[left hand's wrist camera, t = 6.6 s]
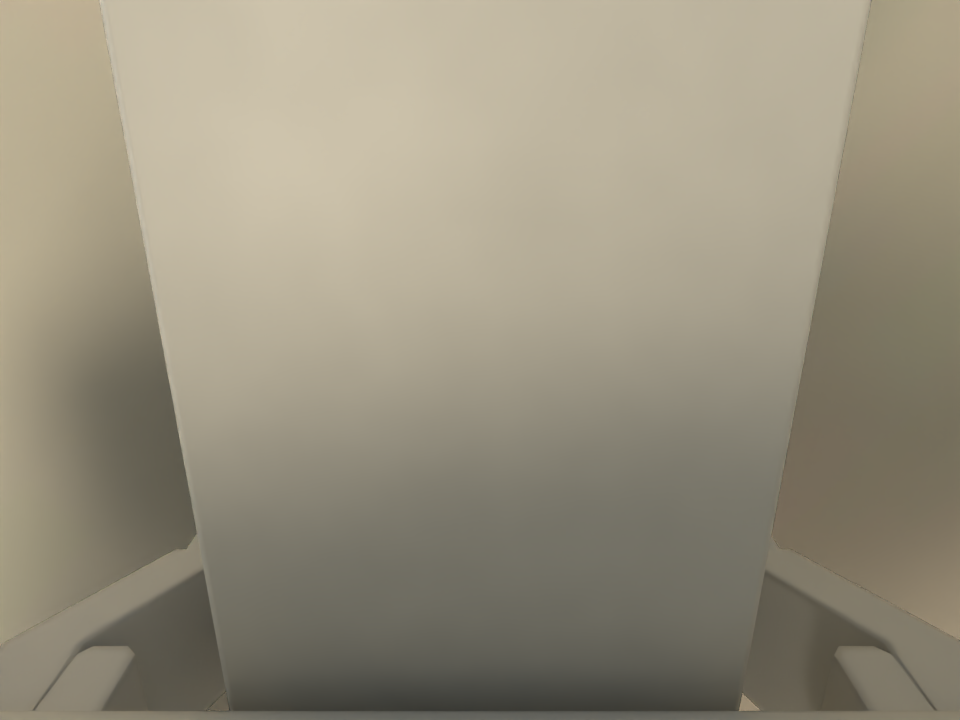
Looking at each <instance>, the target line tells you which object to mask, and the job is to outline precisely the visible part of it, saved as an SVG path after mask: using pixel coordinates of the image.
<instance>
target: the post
mask: <svg viewBox="0 0 960 720" xmlns="http://www.w3.org/2000/svg"><path fill="white" fill-rule="evenodd" d="M871 1H872V0H99V3H100V9H101V14H102V20H103V25H104V30H105V36H106V41H107V47H108V52H109V58H110V63H111V68H112V74H113V79H114V85H115V90H116V96H117V101H118V107H119V112H120V117H121V123H122V128H123V134H124V139H125V145H126V150H127V155H128V161H129V166H130V172H131V177H132V183H133V188H134V194H135V199H136V204H137V210H138V215H139V221H140V226H141V232H142V237H143V242H144V248H145V253H146V259H147V264H148V270H149V275H150V281H151V286H152V291H153V297H154V302H155V308H156V313H157V319H158V324H159V329H160V335H161V340H162V346H163V351H164V357H165V362H166V368H167V373H168V378H169V384H170V389H171V395H172V400H173V406H174V411H175V416H176V422H177V427H178V433H179V438H180V444H181V449H182V455H183V460H184V465H185V471H186V476H187V482H188V487H189V493H190V498H191V503H192V509H193V514H194V520H195V525H196V531H197V536H198V542H199V547H200V552H201V558H202V563H203V569H204V574H205V580H206V585H207V590H208V596H209V601H210V607H211V612H212V618H213V623H214V629H215V634H216V639H217V645H218V650H219V656H220V661H221V667H222V672H223V677H224V683H225V688H226V694H227V699H228V705H229V710H230V711H739V707H740V702H741V696H742V691H743V686H744V680H745V675H746V669H747V664H748V659H749V653H750V648H751V643H752V637H753V632H754V627H755V621H756V616H757V611H758V605H759V600H760V595H761V589H762V584H763V579H764V573H765V568H766V562H767V557H768V552H769V546H770V541H771V536H772V530H773V525H774V520H775V514H776V509H777V504H778V498H779V493H780V488H781V482H782V477H783V472H784V466H785V461H786V456H787V450H788V445H789V439H790V434H791V429H792V423H793V418H794V413H795V407H796V402H797V397H798V391H799V386H800V381H801V375H802V370H803V365H804V359H805V354H806V349H807V343H808V338H809V332H810V327H811V322H812V316H813V311H814V306H815V300H816V295H817V290H818V284H819V279H820V274H821V268H822V263H823V258H824V252H825V247H826V242H827V236H828V231H829V225H830V220H831V215H832V209H833V204H834V199H835V193H836V188H837V183H838V177H839V172H840V167H841V161H842V156H843V151H844V145H845V140H846V135H847V129H848V124H849V118H850V113H851V108H852V102H853V97H854V92H855V86H856V81H857V76H858V70H859V65H860V60H861V54H862V49H863V44H864V38H865V33H866V28H867V22H868V17H869V12H870V6H871Z"/></svg>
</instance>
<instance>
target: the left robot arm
mask: <svg viewBox="0 0 960 720" xmlns="http://www.w3.org/2000/svg"><path fill="white" fill-rule="evenodd" d="M225 692H226V688H225V683H224V677H223V672H222V667H221V661H220V656H219V650H218V645H217V639H216V634H215V629H214V623H213V618H212V612H211V607H210V601H209V596H208V590H207V585H206V580H205V574H204V569H203V563H202V558H201V552H200V547H199V542H198V536H197V534H196V535H195V537H194V538H193V540H192V541H191V543H190V544H189V546H188V547H187V549H175V550H173V551H171V552H170V553H168V554H166V555H164V556H162V557H160V558H159V559H157V560H155V561H153V562H151V563H149V564H147V565H146V566H144V567H142V568H140V569H138V570H136V571H135V572H133V573H131V574H129V575H127V576H125V577H124V578H122V579H120V580H118V581H116V582H114V583H113V584H111V585H109V586H107V587H105V588H103V589H101V590H100V591H98V592H96V593H94V594H92V595H90V596H89V597H87V598H85V599H83V600H81V601H79V602H78V603H76V604H74V605H72V606H70V607H68V608H66V609H65V610H63V611H61V612H59V613H57V614H55V615H54V616H52V617H50V618H48V619H46V620H44V621H43V622H41V623H39V624H37V625H35V626H33V627H32V628H30V629H28V630H26V631H24V632H22V633H20V634H19V635H17V636H15V637H13V638H11V639H9V640H8V641H6V642H4V643H2V644H1V646H0V720H960V640H958V639H956V638H955V637H953V636H951V635H949V634H947V633H945V632H943V631H942V630H940V629H938V628H936V627H934V626H932V625H930V624H929V623H927V622H925V621H923V620H921V619H919V618H917V617H916V616H914V615H912V614H910V613H908V612H906V611H905V610H903V609H901V608H899V607H897V606H895V605H893V604H892V603H890V602H888V601H886V600H884V599H882V598H880V597H879V596H877V595H875V594H873V593H871V592H869V591H867V590H866V589H864V588H862V587H860V586H858V585H856V584H855V583H853V582H851V581H849V580H847V579H845V578H843V577H842V576H840V575H838V574H836V573H834V572H832V571H830V570H829V569H827V568H825V567H823V566H821V565H819V564H817V563H816V562H814V561H812V560H810V559H808V558H806V557H805V556H803V555H801V554H799V553H797V552H795V551H793V550H792V549H780V548H779V546H778V545H777V543H776V542H775V541H774V539H773V538H772V536H771V541H770V546H769V552H768V557H767V562H766V568H765V573H764V579H763V584H762V589H761V595H760V600H759V605H758V611H757V616H756V621H755V627H754V632H753V637H752V643H751V648H750V653H749V659H748V664H747V669H746V675H745V680H744V686H743V691H742V693H743V694H744V695H745V696H746V697H747V698H748V699H749V700H751V701H752V702H753V703H754V704H755V705H756V706H757V707H758V708H759V709H760V710H761V711H206V710H207V709H208V708H209V707H210V706H211V705H212V704H213V703H214V702H215V701H216V700H217V699H218V698H219V697H220V696H222V695H223V694H224V693H225Z"/></svg>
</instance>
